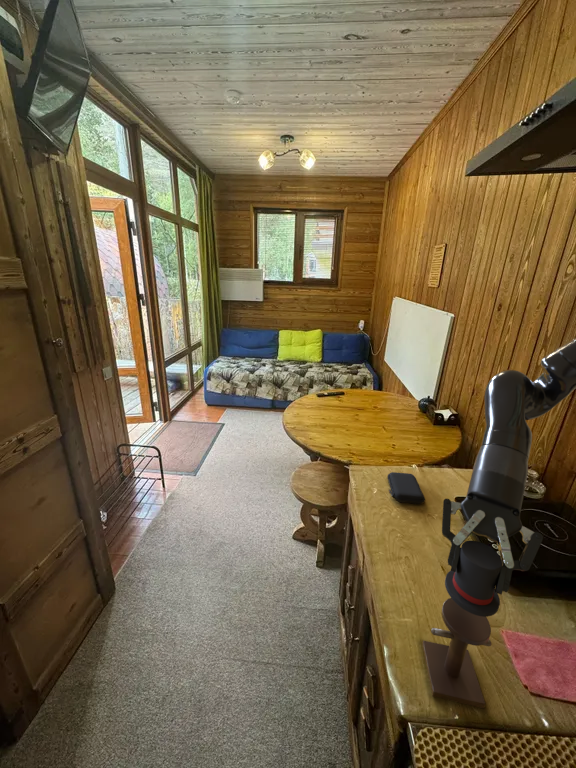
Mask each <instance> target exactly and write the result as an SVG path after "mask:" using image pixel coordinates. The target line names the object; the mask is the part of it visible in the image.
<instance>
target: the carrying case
mask: <svg viewBox="0 0 576 768" xmlns="http://www.w3.org/2000/svg"><path fill="white" fill-rule="evenodd" d="M387 479H388V484H389V487H390V489H388V493H389V495H390V496H391V497H392V498H393V499H394V500H395V501H396V502H398V503H403V504H412V505H413V504H415V505H422V504H424V503H425V502H426V498H425V495H424V493H423V490H422V489H421V486H420V484H419V481H418V480H417V478H416V476H415V475H414V474H413V473H409V472H407V473H406V472H396V471H391V472H389V473H388V474H387Z"/></svg>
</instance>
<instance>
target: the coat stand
mask: <svg viewBox="0 0 576 768" xmlns="http://www.w3.org/2000/svg"><path fill="white" fill-rule="evenodd" d="M441 618H442V621H443V623H444V625H445V627H446V628H447V629H448V630H446V629H441V628H436V627H431V629H430V633H431V634H432V635H433V636H436V637H442V638H445V639H446V638H447V639H450V642H449V645H447V644H442V643H437V642H432V641H428V640H422V643H421V646H422V651H423V656H424V662H425V666H426V672H427V677H428V681H429V686H430V692H431V696H432V697H434V698H439V699H442V700H446V701H451V702H456V703H459V704H463V705H467V706H472V707H476V708H480V709H485V707H486V701H485V699H484V695H483V692H482V689H481V686H480V683H479V680H478V676H477V674H476V671H475V668H474V664H473V661H472V658H471V655H470V652H469V649H468V646H469V645H471V646H477V647H478V646H485V647H491V646H492V641H491V640H490V637H491V633H492V627H491V624H490V622H489V619H488V618H487V617H483V616H477V615H474V614H472V613H470V612H468V611H466V610H464V609H463V608H461V607H460V606H459V605H458V604H456V603H455V602H454V601H453V599H452V598H451V597H449V598H447V599H446V600H445V601H444V602H443V603H442V607H441Z"/></svg>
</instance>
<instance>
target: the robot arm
mask: <svg viewBox="0 0 576 768" xmlns="http://www.w3.org/2000/svg"><path fill="white" fill-rule="evenodd" d="M540 366H541V369H542V373H541V374H540V375H539V376H538V377H537V378H536V379H534V381H532V379H531V378H529V377H528V376H527V374H525V373H523V372H521V371H519V370H517V369H506V370H502V371H499V372H498V373H496V374H495V375H494V376H492V377H491V379H490V380H489V382H488V383H487V385H486V388H485V392H484V423H485V427H484V431H483V435H482V439H481V444H480V448H479V450H478V452H477V455H476V457H475V460H474V465H473V467H472V472H471V476H470V480H469V484H468V488H467V492H466V496H465V498H464V499H463V500H462V501H461V502H459V501H458V502H457V501H452V500H451V499H450V498H444V499H443V502H442V522H441V534H442V536H443V537H444V538H445V539H447V540H448V541H449V542H450V548H449V549H450V550H449V553H448V556H447V557H448V558H447V565H448V566H450V571H453V572H456V568H457V564H458V560H459V556H460V552H461V547H462V544H463V543H464V542H466V541H467V539H468V538H469V537H470V536H471V534H472V533H473V534H474V535H476V536H479V537H483V538H484V537H485V538H486V539H487V540H489V541H491V542H493V543H496V545H497V550H498V552H499V556H500V557H501V559H502V567H501V570H500V573H499V577H498V580H497V583H496V587H495V592H496V593H498V595H499V596H500V595H501V596H502V595H503V592H504V593H507V592H508V591H509V590H510V586H511V579H512V574H513V571H521V572H527V571H529V570H530V569H531V567H532V565H533V563H534V560H535V558H536V556H537V553H538V551H539V549H540V548H541V545H542V542H543V541H544V536H543V534H542V533H541V532H538V531H533V530H532V529H530V528H528V527H525V526H524V525H523V523H522V521H521V511H522V505H523V502H524V501H523V500H524V496H525V490H526V486H527V485H526V484H527V480H528V473H529V458H530V453H531V447H532V441H533V433H532V429H531V427H530V426H529V424H528V422H527V421H530V420H534V419H537V418H540V417H541V416H544V415H545V414H547V413H549V412H550V411H551V410H553V408H555V407H556V406H557V405H558V404H559V403H561V402H562V401H563V400H564V399H566V398H567V397H568V396H569V395H570V394H571V393H572V392H574V390H576V337H574V338H573V339H571V340H570V341H567V342H566V343H564V344H562V345H560V346H559V347H558V348H556V349H554V350H553V351H550V352H549V353H547V354H546V355H545V356H543V357H542V358H541V360H540ZM458 510H460V511H461V513H462V516H463V517H464V520H465V522H466V523H465V524H464V525H463V526H462V527H461V529H460V530H459V531H458V532H457V534H454V532H452V531H451V525H452V524H451V523H452V522H451V521H452V520H451V519H452V516H454V515H456V514H457V511H458ZM517 533H520V534H521V536H522V537H521V541H522V542H523V543H524V545H525V546H524V548H523V550H522V552H521V555H520V557H519V558H518V559H514V557H513V554H512V549H511V548H512V547H511V543H510V540H509V538H511V537H512V536H514V535H516V534H517Z"/></svg>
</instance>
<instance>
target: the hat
mask: <svg viewBox="0 0 576 768" xmlns="http://www.w3.org/2000/svg"><path fill="white" fill-rule="evenodd" d="M460 547H461V552H460V556H459V560H458V564H457V568H456V572H453V571H451V570H449V571H448V572H447V573H446V575H445V579H444V586H445V589H446V592H447V594H448V596H449V598H452V599H453V601H454V602H455V603H456V604H458V605H459V606H460V607H461V608H463V609H464V610H466V611H468V612H470V613H472V614H474V615H477V616H483V617H486V618H487V617H492V616H494V615H496V613H498V611H499V609H500V606H501V601H500V600H501V599H500V595H499V594H498V593H496V592H495V587H496V583H497V580H498V577H499V573H500V570H501V567H502V559H501V556H500V553H498V552H497V551H496V550H495V549H494V548H493V547H491V546H489V545H488V544H486V543H484V542H481V541H478V540H465V541H464V542H463V543H462V544H461V546H460Z"/></svg>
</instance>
